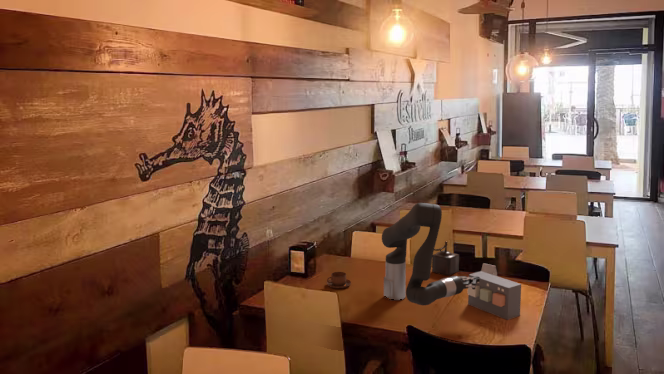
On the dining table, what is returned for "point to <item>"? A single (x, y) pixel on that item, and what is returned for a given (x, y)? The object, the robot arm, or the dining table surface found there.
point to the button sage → (486, 294)
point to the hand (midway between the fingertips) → (478, 278)
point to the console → (500, 286)
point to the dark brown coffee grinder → (445, 262)
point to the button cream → (474, 291)
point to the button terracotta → (499, 299)
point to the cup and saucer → (338, 280)
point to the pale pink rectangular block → (489, 269)
